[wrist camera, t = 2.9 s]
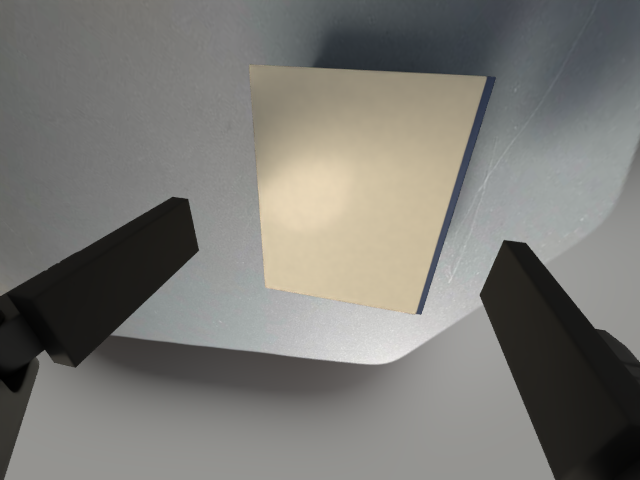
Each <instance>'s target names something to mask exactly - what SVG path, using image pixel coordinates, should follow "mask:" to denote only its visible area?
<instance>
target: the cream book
mask: <svg viewBox="0 0 640 480" xmlns="http://www.w3.org/2000/svg"><path fill="white" fill-rule="evenodd" d="M249 73H250V87H251V100H252V114H253V127H254V141H255V155H256V168H257V182H258V195H259V209H260V222H261V236H262V250H263V263H264V277H265V287H266V288H270V289H276V290H281V291H287V292H292V293H298V294H303V295H309V296H315V297H320V298H326V299H331V300H337V301H342V302H348V303H354V304H359V305H365V306H370V307H376V308H381V309H387V310H392V311H398V312H404V313H409V314H420V315H421V314H422V311H423V308H424V305H425V301H426V298H427V295H428V292H429V289H430V285H431V282H432V279H433V276H434V273H435V270H436V266H437V263H438V260H439V257H440V254H441V251H442V247H443V244H444V241H445V238H446V235H447V232H448V228H449V225H450V222H451V219H452V216H453V213H454V209H455V206H456V203H457V200H458V197H459V194H460V190H461V187H462V184H463V181H464V178H465V175H466V171H467V168H468V165H469V162H470V159H471V156H472V152H473V149H474V146H475V143H476V140H477V136H478V133H479V130H480V127H481V124H482V121H483V117H484V114H485V111H486V108H487V105H488V102H489V98H490V95H491V92H492V89H493V86H494V83H495V79H496V77H491V76H471V75H451V74H431V73H411V72H391V71H371V70H351V69H331V68H311V67H291V66H271V65H251V64H250V65H249Z"/></svg>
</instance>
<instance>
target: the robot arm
mask: <svg viewBox="0 0 640 480" xmlns="http://www.w3.org/2000/svg"><path fill="white" fill-rule="evenodd" d="M198 251H199V248H198V244H197V239H196V234H195V229H194V225H193V220H192V215H191V210H190V206H189V201H188V199H185V198H177V197H172V198H170V199H168V200H167V201H165V202H163V203H161V204H160V205H158V206H156V207H155V208H153V209H151V210H149V211H148V212H146V213H144V214H143V215H141V216H139V217H137V218H136V219H134V220H132V221H131V222H129V223H127V224H125V225H124V226H122V227H120V228H119V229H117V230H115V231H113V232H112V233H110V234H108V235H107V236H105V237H103V238H101V239H100V240H98V241H96V242H95V243H93V244H91V245H89V246H88V247H86V248H84V249H83V250H81V251H79V252H76V253H74V254H72V255H71V256H69V257H67V258H66V259H64V260H62V261H60V263H57V264H55V265H53V266H52V267H50V268H48V270H47V271H43V272H41V273H40V274H38V275H36V276H35V277H33V278H31V279H29V280H28V281H26V282H24V283H22V284H21V285H19V286H17V287H16V288H14V289H12V290H10V291H9V292H7V293H5V294H3V295H2V296H0V480H4V477H5V474H6V471H7V468H8V465H9V461H10V458H11V455H12V452H13V449H14V446H15V442H16V439H17V436H18V433H19V430H20V426H21V423H22V420H23V417H24V414H25V411H26V407H27V404H28V401H29V398H30V395H31V391H32V388H33V385H34V382H35V379H36V375H37V372H38V369H39V361H38V359H37V358H36V356H37V355H39V354H40V353H41V352H42V351H44V350H46V352H47V353H48V354H49V356H50V357H51V359H52V360H53V361H54V363H58V364H63V365H67V366H71V367H77V366H78V365H79V364H80V363H81V362H82V361H83V360H84V359H85V358H86V357H87V356H88V355H89V354H90V353H91V352H92V351H93V350H95V348H97V347H98V346H99V345H100V344H101V343H102V342H103V341H104V340H105V339H106V338H107V337H108V336H109V335H110V334H111V333H112V332H114V331H115V330H116V329H117V328H118V327H119V326H120V325H121V324H122V323H123V322H124V321H125V320H126V319H127V318H128V317H129V316H130V315H131V314H133V313H134V312H135V311H136V310H137V309H138V308H139V307H140V306H141V305H142V304H143V303H144V302H145V301H146V300H147V299H148V298H149V297H150V296H152V295H153V294H154V293H155V292H156V291H157V290H158V289H159V288H160V287H161V286H162V285H163V284H164V283H165V282H166V281H167V280H168V279H169V278H170V277H172V276H173V275H174V274H175V273H176V272H177V271H178V270H179V269H180V268H181V267H182V266H183V265H184V264H185V263H186V262H187V261H188V260H189V259H191V258H192V257H193V256H194V255H195V254H196V253H197V252H198ZM480 297H481V300H482V302H483V305H484V307H485V310H486V312H487V314H488V317H489V319H490V322H491V324H492V327H493V329H494V331H495V334H496V336H497V339H498V341H499V343H500V346H501V349H502V351H503V353H504V356H505V358H506V361H507V363H508V366H509V368H510V370H511V373H512V375H513V378H514V380H515V382H516V385H517V388H518V390H519V392H520V395H521V397H522V400H523V402H524V405H525V407H526V409H527V412H528V414H529V417H530V419H531V422H532V424H533V426H534V429H535V431H536V434H537V436H538V439H539V441H540V444H541V446H542V448H543V451H544V453H545V456H546V458H547V460H548V463H549V466H550V468H551V470H552V473H553V475H554V478H555V480H640V362H639V361H638V360H637V359H636V357H635V356H634V355H633V354H632V353H631V352H630V350H628V348H627V347H626V346H625V345H623V344H622V343H621V342H619V341H618V340H617V339H616V338H614V337H613V336H612V335H610V334H609V333H608V332H606V331H605V330H599V329H595V328H594V327H593V326H592V324H591V323H590V322H589V321H588V319H587V318H586V317H585V316H584V314H583V313H582V312H581V311H580V309H579V308H578V307H577V306H576V304H575V303H574V302H573V301H572V300H571V298H570V297H569V296H568V295H567V293H566V292H565V291H564V290H563V288H562V287H561V286H560V285H559V283H558V282H557V281H556V280H555V278H554V277H553V276H552V275H551V273H550V272H549V271H548V270H547V269H546V267H545V266H544V265H543V263H542V262H541V261H540V260H539V259H538V257H537V256H536V255H535V254H534V252H533V251H532V250H531V249H530V247H529V246H528V245H527V244H526V243H522V242H515V241H507V240H504V241H503V243H502V246H501V248H500V250H499V252H498V255H497V257H496V259H495V261H494V264H493V266H492V268H491V271H490V273H489V275H488V277H487V280H486V282H485V284H484V286H483V289H482V291H481V293H480Z"/></svg>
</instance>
